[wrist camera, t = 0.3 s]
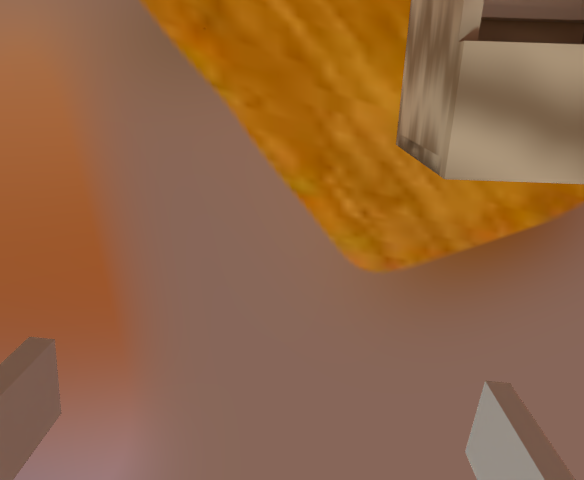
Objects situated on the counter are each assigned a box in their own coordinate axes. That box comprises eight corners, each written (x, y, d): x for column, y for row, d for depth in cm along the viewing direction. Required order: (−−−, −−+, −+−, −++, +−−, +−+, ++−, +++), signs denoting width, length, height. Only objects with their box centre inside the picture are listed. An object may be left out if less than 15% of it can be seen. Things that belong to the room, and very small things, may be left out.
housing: (416, -48, 34) (489, -130, 21) (608, -43, 34) (805, -121, 20) (396, 144, 38) (444, 179, 25) (564, 150, 38) (701, 188, 25)
